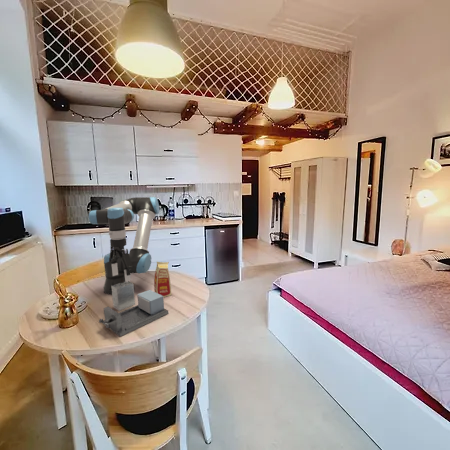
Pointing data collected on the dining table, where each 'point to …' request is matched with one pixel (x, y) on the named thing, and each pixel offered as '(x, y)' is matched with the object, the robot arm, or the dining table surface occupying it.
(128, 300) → the steel block
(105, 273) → the robot arm
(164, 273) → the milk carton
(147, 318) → the vise body
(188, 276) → the dining table surface
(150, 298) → the block
